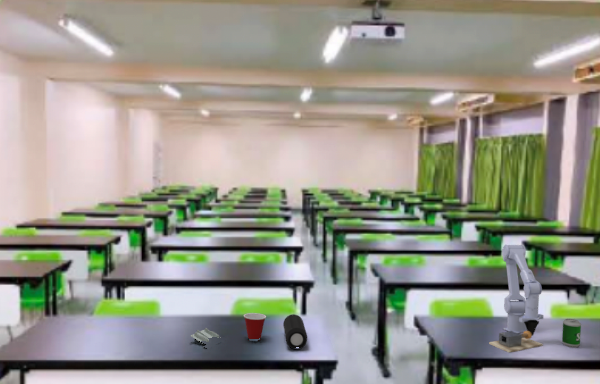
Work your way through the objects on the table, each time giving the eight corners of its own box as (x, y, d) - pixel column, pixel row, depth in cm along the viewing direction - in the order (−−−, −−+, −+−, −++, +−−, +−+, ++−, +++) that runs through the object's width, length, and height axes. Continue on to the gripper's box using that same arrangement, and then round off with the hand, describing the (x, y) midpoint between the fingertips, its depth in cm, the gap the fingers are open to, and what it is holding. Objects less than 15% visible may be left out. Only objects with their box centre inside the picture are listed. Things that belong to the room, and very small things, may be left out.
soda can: (573, 349, 240) (574, 323, 239) (558, 343, 246) (559, 319, 246) (583, 346, 243) (584, 321, 242) (568, 341, 250) (569, 317, 249)
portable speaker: (282, 332, 257) (283, 312, 256) (302, 332, 258) (303, 312, 257) (285, 351, 231) (286, 329, 231) (307, 351, 232) (308, 329, 232)
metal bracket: (186, 332, 238) (207, 323, 251) (184, 343, 239) (205, 334, 252) (210, 346, 231) (230, 337, 244) (207, 358, 232) (227, 347, 245)
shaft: (525, 337, 249) (525, 329, 249) (531, 339, 246) (531, 332, 246) (505, 340, 243) (505, 333, 243) (511, 343, 240) (511, 335, 240)
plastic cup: (270, 339, 246) (271, 315, 245) (253, 345, 238) (254, 319, 237) (255, 334, 253) (255, 310, 252) (238, 339, 245) (238, 314, 244)
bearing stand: (521, 337, 254) (522, 326, 254) (542, 345, 244) (543, 333, 243) (488, 343, 245) (489, 331, 244) (509, 352, 234) (509, 340, 234)
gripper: (528, 311, 241) (526, 339, 241) (549, 307, 247) (548, 335, 248) (515, 307, 247) (514, 335, 248) (536, 304, 253) (535, 331, 254)
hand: (530, 335), depth 248 cm, fingers closed
